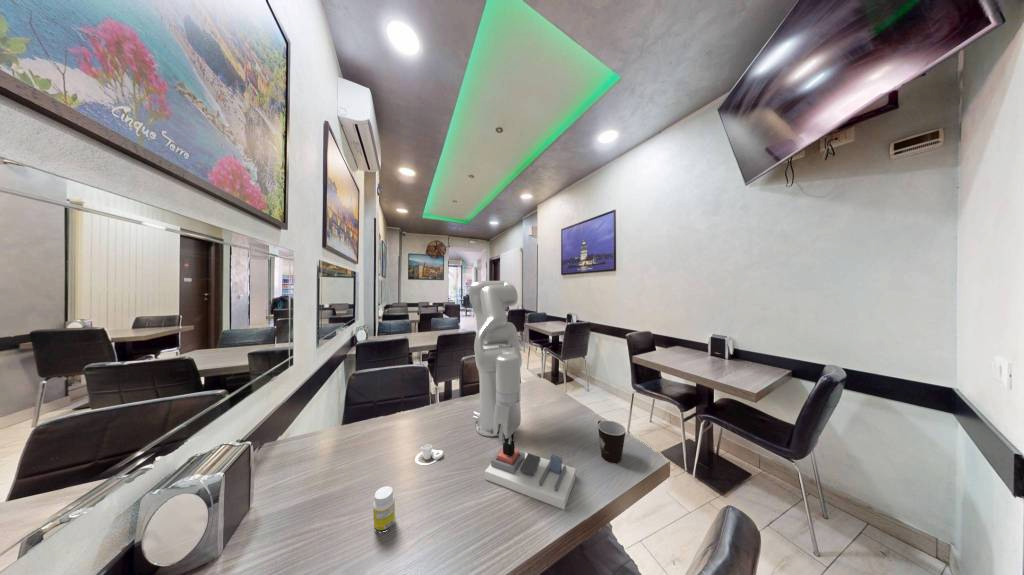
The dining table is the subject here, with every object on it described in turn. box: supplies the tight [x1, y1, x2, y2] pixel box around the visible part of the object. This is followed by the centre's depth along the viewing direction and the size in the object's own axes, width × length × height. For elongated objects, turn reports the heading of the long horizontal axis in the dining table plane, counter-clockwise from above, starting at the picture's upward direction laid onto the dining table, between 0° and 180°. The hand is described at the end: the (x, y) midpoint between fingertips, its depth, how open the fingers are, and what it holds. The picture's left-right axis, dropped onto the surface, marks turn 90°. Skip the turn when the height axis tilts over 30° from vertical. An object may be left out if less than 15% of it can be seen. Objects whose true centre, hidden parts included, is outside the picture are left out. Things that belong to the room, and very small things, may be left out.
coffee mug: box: [597, 420, 627, 464], centre depth 93 cm, size 12×9×10 cm
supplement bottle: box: [372, 485, 396, 533], centre depth 67 cm, size 5×5×8 cm
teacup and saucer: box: [414, 443, 444, 466], centre depth 92 cm, size 9×8×4 cm
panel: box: [484, 446, 577, 510], centre depth 83 cm, size 24×13×4 cm, turn 64°
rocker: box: [520, 452, 542, 476], centre depth 82 cm, size 4×6×1 cm, turn 154°
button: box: [497, 448, 520, 465], centre depth 86 cm, size 5×5×2 cm
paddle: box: [549, 454, 563, 474], centre depth 81 cm, size 3×2×5 cm, turn 64°
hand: (508, 453), depth 85 cm, fingers closed
